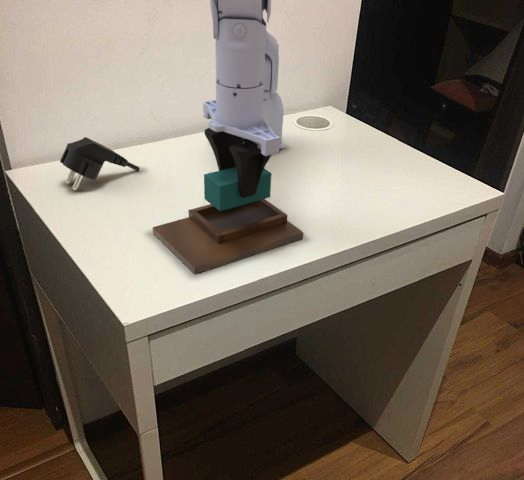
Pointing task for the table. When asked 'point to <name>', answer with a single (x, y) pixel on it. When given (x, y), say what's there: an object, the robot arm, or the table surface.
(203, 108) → the robot arm
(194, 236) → the brown wooden tray
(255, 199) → the teal rectangular block
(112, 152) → the power plug
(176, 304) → the table surface
